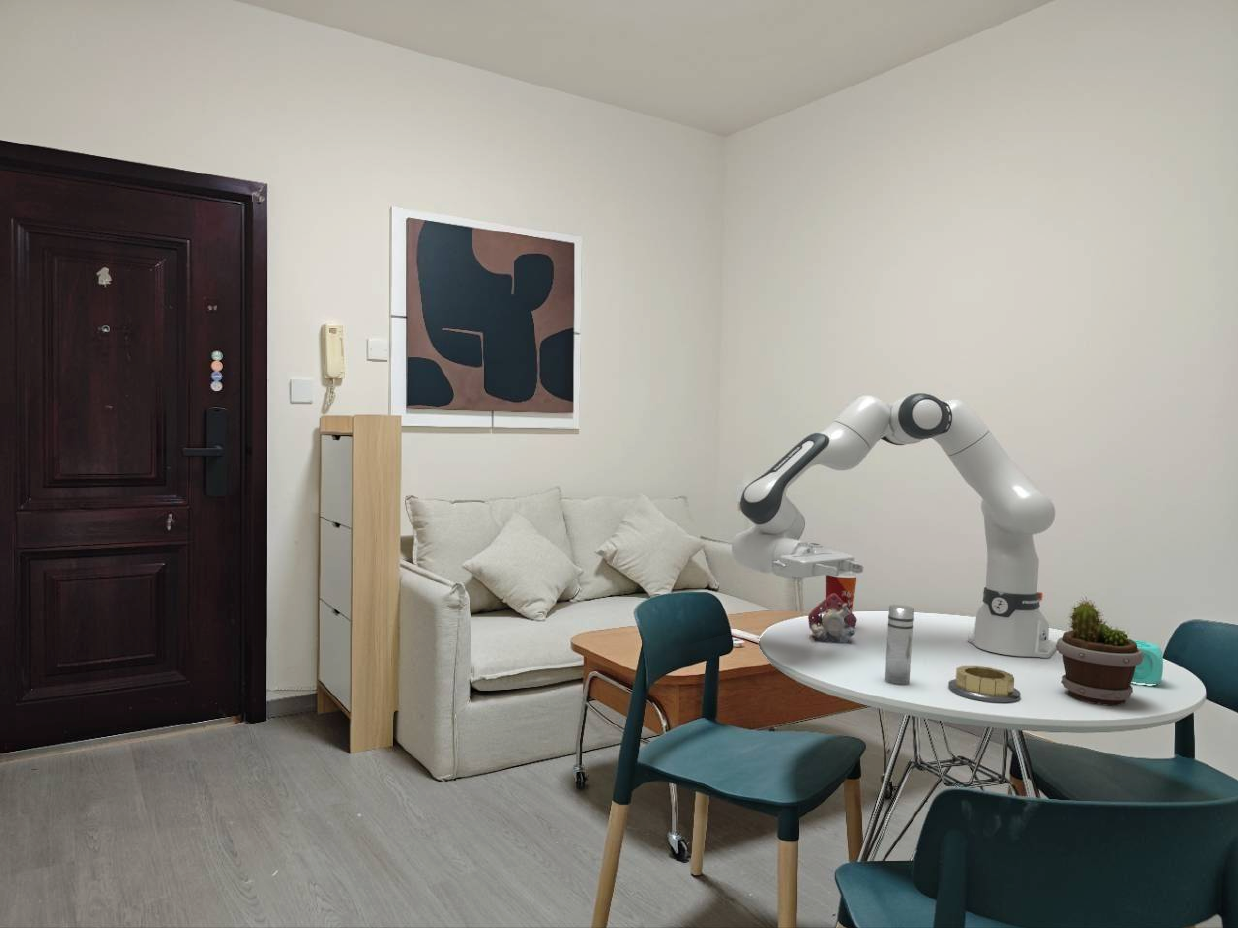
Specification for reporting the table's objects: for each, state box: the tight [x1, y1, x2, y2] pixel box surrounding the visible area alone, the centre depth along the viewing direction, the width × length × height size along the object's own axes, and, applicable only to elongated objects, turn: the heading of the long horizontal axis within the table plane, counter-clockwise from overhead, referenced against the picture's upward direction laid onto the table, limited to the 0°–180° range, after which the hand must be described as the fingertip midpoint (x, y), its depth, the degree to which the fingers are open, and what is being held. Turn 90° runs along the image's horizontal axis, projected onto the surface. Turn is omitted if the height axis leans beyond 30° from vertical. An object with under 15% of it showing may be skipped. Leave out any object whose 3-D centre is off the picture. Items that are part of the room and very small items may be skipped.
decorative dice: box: [1130, 638, 1164, 685], centre depth 181 cm, size 8×8×8 cm
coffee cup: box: [825, 572, 859, 618], centre depth 218 cm, size 8×8×15 cm
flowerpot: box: [1056, 597, 1144, 706], centre depth 167 cm, size 14×15×20 cm
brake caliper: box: [807, 593, 857, 644], centre depth 204 cm, size 11×11×12 cm
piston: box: [884, 604, 915, 686], centre depth 172 cm, size 5×5×15 cm
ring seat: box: [947, 665, 1022, 704], centre depth 167 cm, size 13×13×4 cm
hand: (849, 570), depth 180 cm, fingers open, 8 cm apart
